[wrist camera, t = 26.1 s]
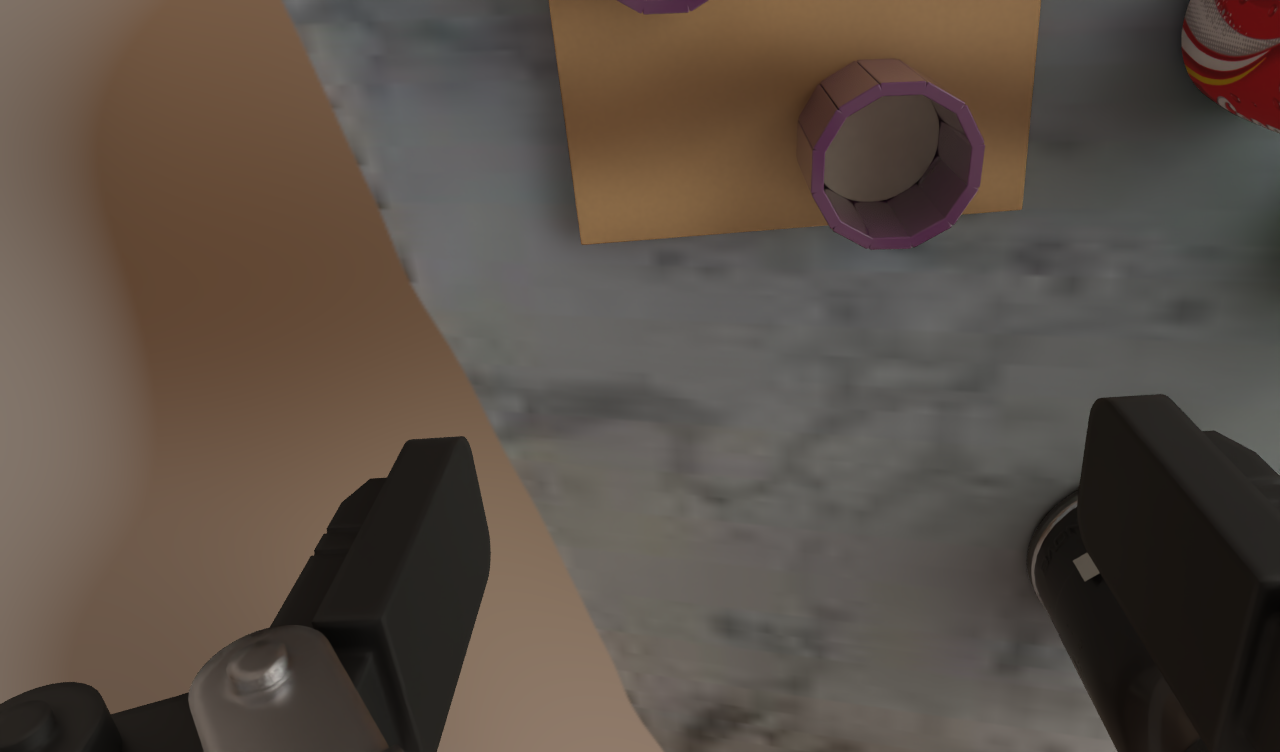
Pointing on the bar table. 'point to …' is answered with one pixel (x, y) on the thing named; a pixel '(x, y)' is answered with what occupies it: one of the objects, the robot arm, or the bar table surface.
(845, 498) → the bar table surface
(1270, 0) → the soda can
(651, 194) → the oak board
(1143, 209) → the bar table surface
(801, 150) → the end ramekin
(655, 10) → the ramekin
